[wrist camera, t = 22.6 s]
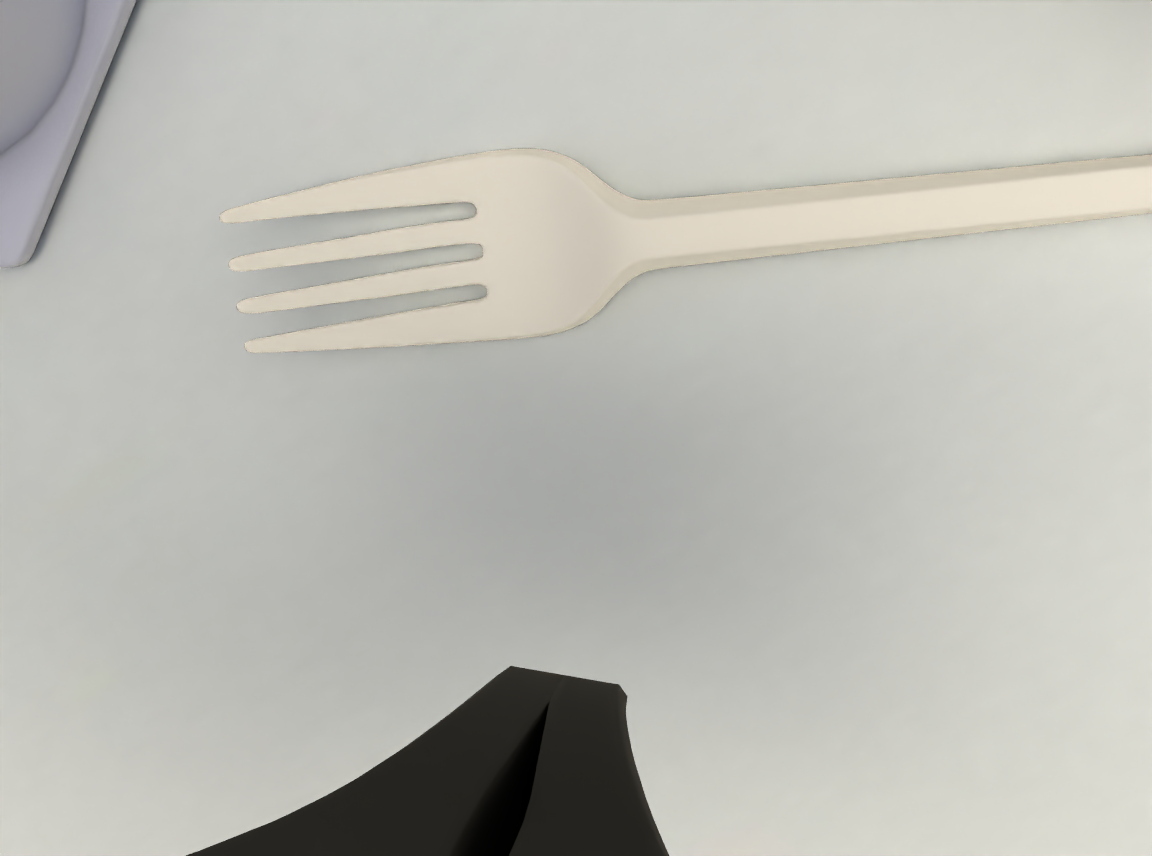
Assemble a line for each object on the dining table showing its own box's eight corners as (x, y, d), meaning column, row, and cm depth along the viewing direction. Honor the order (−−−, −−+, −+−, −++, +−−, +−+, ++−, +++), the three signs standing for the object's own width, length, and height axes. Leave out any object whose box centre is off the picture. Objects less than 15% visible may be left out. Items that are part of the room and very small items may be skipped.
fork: (1524, 252, 17) (1615, 267, 15) (293, 357, 20) (248, 380, 19) (1547, 26, 16) (1646, 14, 14) (260, 178, 20) (210, 183, 18)
